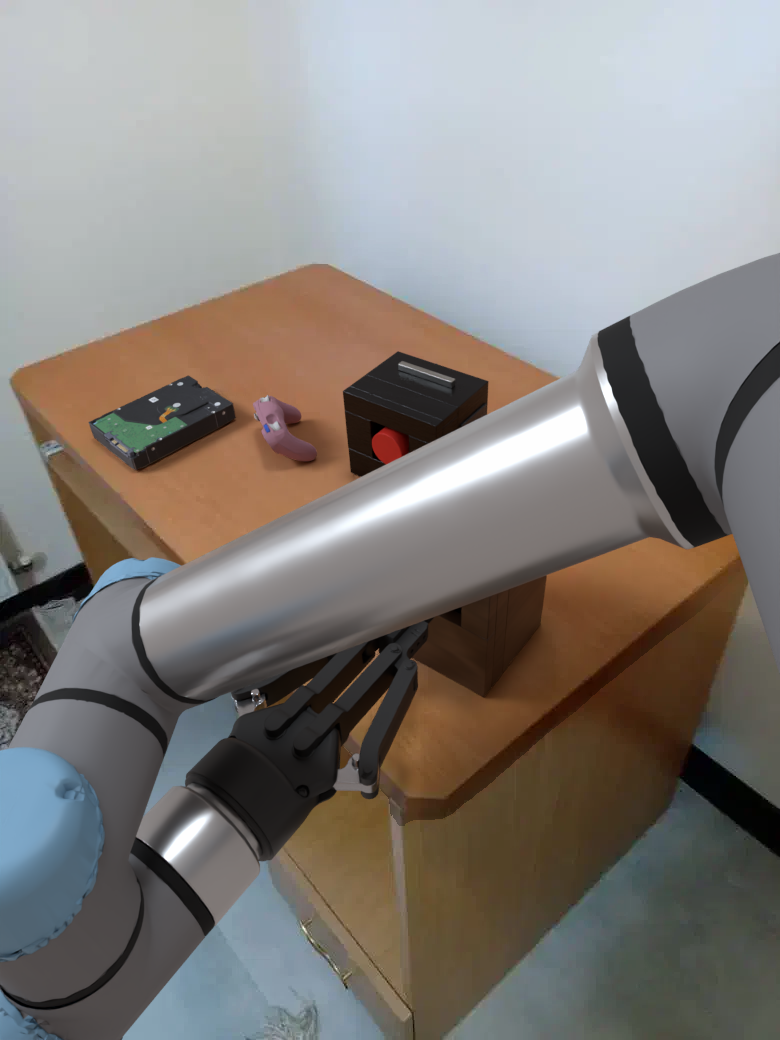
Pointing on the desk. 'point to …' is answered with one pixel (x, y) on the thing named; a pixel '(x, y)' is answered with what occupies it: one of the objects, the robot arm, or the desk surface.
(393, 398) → the dark button box
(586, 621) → the desk surface
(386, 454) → the button
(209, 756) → the robot arm
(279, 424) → the video game controller
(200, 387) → the disk drive
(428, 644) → the box
